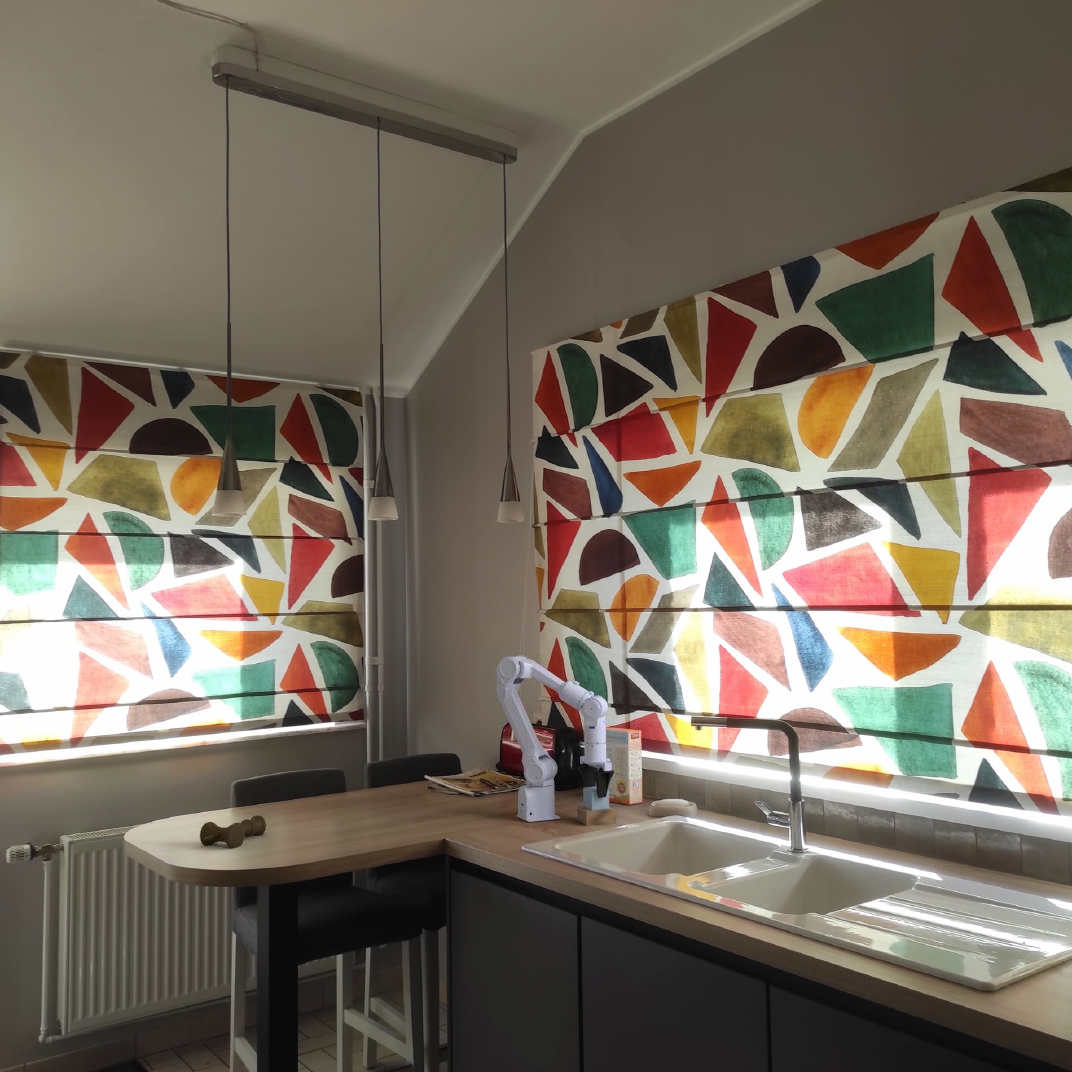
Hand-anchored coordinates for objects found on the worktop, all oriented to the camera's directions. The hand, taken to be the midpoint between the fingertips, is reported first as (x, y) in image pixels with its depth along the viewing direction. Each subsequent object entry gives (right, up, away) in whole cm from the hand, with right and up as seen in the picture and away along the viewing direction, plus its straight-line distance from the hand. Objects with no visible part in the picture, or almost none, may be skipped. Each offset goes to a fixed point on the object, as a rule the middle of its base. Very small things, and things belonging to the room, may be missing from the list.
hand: (596, 795), depth 260 cm
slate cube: (0, -3, 0) cm, 3 cm away
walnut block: (0, -7, -1) cm, 7 cm away
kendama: (-90, -7, -20) cm, 92 cm away
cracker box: (+8, -9, +28) cm, 31 cm away
